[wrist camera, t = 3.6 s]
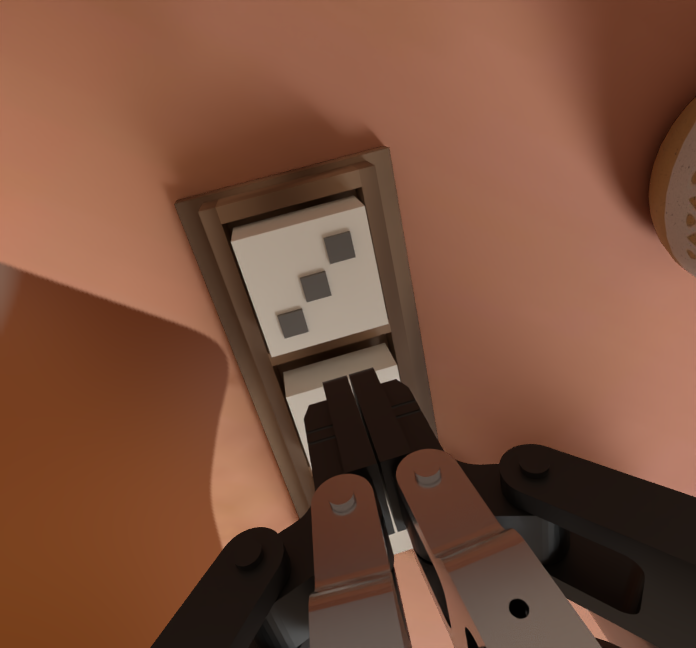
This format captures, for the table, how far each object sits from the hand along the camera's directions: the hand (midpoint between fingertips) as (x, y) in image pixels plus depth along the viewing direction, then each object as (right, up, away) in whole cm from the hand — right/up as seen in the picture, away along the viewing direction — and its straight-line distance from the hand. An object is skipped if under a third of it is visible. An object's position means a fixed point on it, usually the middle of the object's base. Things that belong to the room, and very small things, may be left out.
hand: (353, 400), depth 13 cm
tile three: (-2, +5, +10) cm, 12 cm away
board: (-1, -1, +17) cm, 17 cm away
